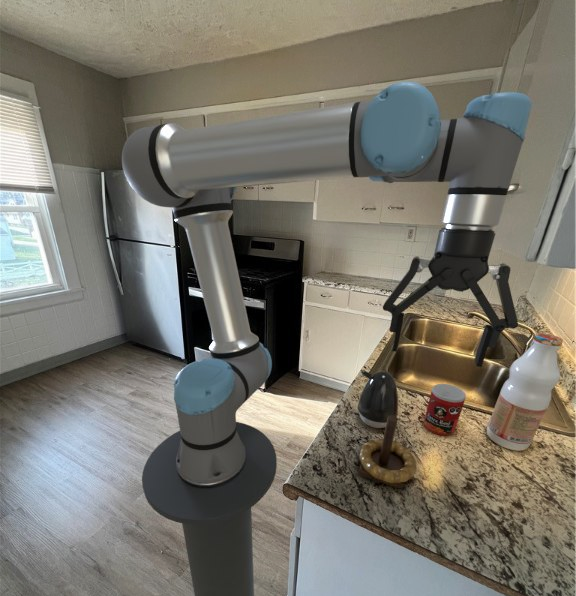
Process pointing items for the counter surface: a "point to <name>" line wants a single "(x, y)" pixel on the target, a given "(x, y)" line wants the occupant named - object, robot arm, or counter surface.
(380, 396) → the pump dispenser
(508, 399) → the fruit juice
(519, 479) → the counter surface
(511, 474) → the counter surface
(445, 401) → the canned food
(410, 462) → the ring
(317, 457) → the counter surface
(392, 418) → the post
